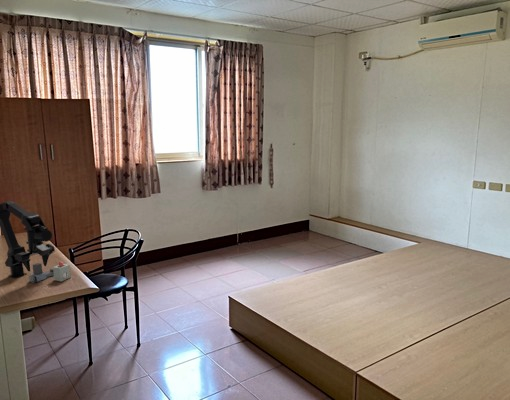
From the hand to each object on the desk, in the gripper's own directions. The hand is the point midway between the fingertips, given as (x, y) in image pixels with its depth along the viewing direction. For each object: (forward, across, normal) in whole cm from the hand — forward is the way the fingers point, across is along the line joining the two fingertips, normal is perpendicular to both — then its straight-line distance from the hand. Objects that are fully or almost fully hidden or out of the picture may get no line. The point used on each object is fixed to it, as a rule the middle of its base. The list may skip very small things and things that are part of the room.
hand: (37, 268), depth 223 cm
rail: (+6, +2, 0) cm, 7 cm away
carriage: (+6, 0, 0) cm, 6 cm away
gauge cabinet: (+6, +6, -11) cm, 14 cm away
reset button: (0, +6, -11) cm, 12 cm away
